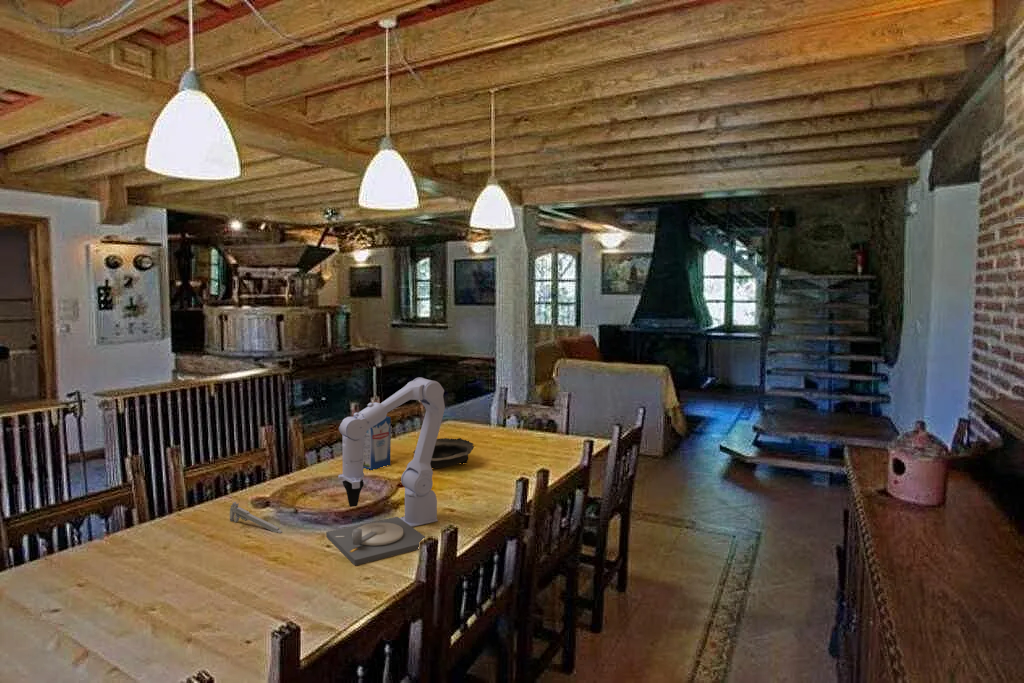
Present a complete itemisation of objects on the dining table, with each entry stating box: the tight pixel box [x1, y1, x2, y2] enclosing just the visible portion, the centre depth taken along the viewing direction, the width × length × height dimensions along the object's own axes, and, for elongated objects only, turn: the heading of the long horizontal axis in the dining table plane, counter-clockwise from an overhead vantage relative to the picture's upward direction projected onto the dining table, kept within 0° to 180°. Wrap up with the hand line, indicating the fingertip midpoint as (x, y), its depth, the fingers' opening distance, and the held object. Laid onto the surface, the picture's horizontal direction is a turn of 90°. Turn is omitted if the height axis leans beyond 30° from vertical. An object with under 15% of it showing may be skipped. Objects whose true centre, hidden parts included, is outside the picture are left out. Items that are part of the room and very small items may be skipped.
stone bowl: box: [412, 437, 475, 469], centre depth 246 cm, size 25×25×9 cm
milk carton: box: [363, 415, 392, 471], centre depth 242 cm, size 10×6×20 cm, turn 143°
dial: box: [352, 523, 403, 546], centre depth 168 cm, size 17×14×5 cm
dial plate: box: [325, 516, 426, 567], centre depth 169 cm, size 22×22×2 cm
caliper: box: [229, 501, 283, 534], centre depth 178 cm, size 20×1×6 cm, turn 65°
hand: (353, 505), depth 172 cm, fingers closed
